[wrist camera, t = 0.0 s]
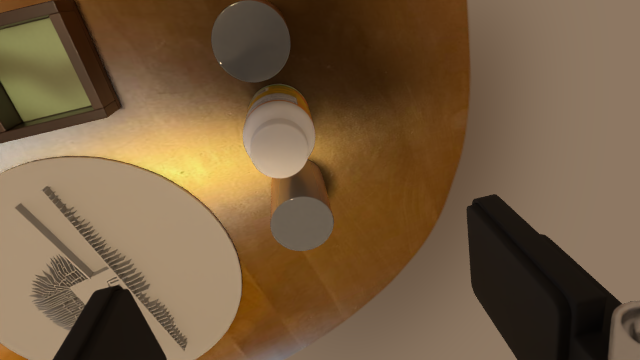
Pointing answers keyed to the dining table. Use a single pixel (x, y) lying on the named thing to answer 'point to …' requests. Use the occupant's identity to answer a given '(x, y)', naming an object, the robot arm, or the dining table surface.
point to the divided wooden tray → (49, 72)
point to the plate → (110, 255)
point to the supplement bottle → (278, 131)
